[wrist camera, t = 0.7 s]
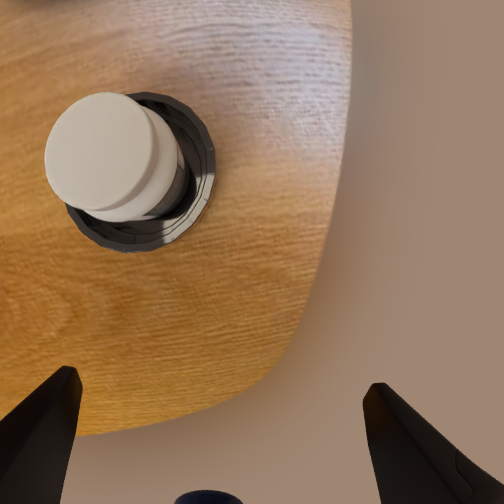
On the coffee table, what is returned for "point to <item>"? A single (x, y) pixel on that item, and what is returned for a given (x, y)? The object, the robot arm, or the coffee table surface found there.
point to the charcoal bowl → (194, 202)
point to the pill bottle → (116, 160)
